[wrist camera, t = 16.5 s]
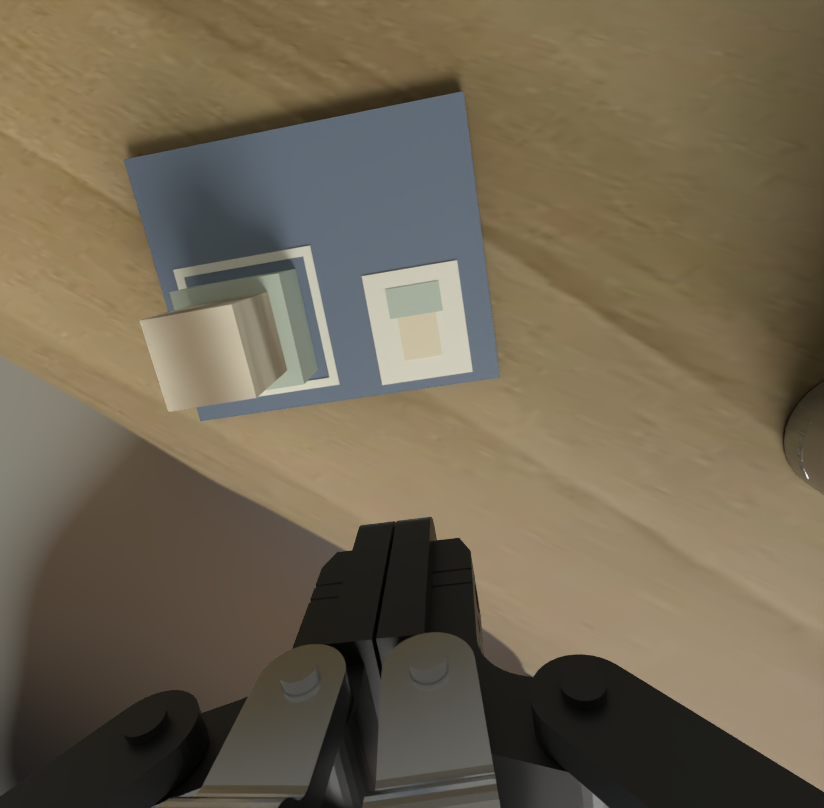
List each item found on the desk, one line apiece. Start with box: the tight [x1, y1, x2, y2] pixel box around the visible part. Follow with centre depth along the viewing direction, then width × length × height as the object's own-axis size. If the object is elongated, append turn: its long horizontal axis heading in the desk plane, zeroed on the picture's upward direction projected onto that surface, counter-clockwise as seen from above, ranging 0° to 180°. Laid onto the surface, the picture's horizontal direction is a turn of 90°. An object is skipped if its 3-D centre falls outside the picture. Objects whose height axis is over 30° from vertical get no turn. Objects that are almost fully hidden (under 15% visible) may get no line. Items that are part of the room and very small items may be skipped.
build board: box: [124, 91, 500, 421], centre depth 38 cm, size 22×18×1 cm
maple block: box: [140, 292, 287, 412], centre depth 32 cm, size 5×5×6 cm
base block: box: [169, 269, 318, 390], centre depth 37 cm, size 7×7×4 cm
